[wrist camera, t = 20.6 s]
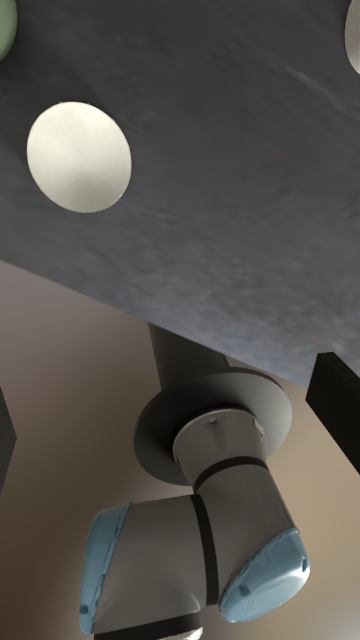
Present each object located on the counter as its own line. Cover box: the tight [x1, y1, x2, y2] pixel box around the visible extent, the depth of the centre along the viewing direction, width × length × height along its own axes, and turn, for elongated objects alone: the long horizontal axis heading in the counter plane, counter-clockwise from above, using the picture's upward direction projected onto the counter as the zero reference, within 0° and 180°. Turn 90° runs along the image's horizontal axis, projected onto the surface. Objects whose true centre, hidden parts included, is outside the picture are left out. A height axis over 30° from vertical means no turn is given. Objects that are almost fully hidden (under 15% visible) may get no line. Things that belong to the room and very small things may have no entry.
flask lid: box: [27, 102, 132, 213], centre depth 29 cm, size 8×8×3 cm
